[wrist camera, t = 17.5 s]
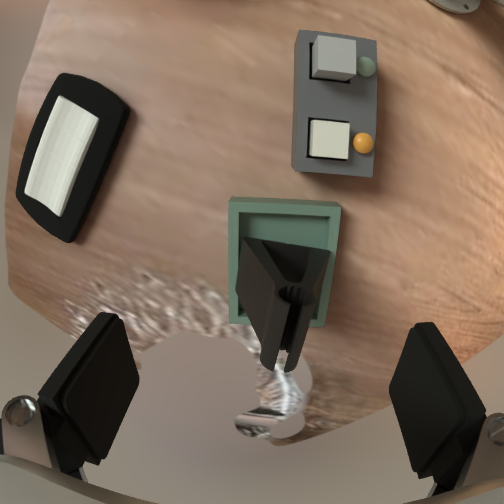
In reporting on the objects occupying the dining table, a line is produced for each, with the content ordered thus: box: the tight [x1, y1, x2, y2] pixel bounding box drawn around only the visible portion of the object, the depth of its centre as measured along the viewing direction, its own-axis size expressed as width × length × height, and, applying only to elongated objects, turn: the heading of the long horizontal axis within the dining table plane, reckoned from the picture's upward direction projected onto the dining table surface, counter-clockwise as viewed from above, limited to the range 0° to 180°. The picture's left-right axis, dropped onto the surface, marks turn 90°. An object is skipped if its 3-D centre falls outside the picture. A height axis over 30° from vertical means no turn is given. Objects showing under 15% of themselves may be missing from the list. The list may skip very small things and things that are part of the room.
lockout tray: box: [228, 197, 341, 327], centre depth 33 cm, size 11×14×2 cm
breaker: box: [312, 35, 356, 81], centre depth 21 cm, size 3×3×4 cm
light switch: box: [16, 73, 130, 243], centre depth 30 cm, size 20×3×14 cm
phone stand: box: [235, 237, 331, 373], centre depth 26 cm, size 9×6×12 cm, turn 81°
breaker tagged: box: [307, 120, 350, 159], centre depth 25 cm, size 3×3×4 cm
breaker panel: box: [291, 30, 377, 178], centre depth 25 cm, size 7×13×6 cm, turn 179°
